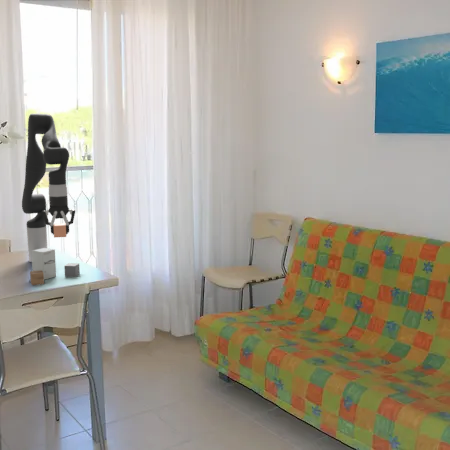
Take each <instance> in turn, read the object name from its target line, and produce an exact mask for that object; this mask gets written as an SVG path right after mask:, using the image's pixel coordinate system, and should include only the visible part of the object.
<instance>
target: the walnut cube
mask: <svg viewBox="0 0 450 450" xmlns="http://www.w3.org/2000/svg"><path fill="white" fill-rule="evenodd" d="M29 278H30V284H31V286H38V285H39V284H40V285H44V284H45V280H44V275H43V271H42V270H40V271H33V270H31V271H29Z"/></svg>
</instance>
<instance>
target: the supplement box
mask: <svg viewBox="0 0 450 450" xmlns="http://www.w3.org/2000/svg"><path fill="white" fill-rule="evenodd" d="M31 265H32V266H31V268H32V269H31V271H40V270H42V271H43V275H44V281H45V280H48V279H52V278H56V277H57V271H56V270H57V268H56V267H57V263H56V249H54V248H48V247H47V248H42V249H37V250H33V251H32V262H31Z"/></svg>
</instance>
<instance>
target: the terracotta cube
mask: <svg viewBox="0 0 450 450" xmlns="http://www.w3.org/2000/svg"><path fill="white" fill-rule="evenodd" d="M53 227H54V235H53V238H67V235H68V234H66V223H54V226H53Z"/></svg>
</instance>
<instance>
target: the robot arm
mask: <svg viewBox="0 0 450 450" xmlns="http://www.w3.org/2000/svg"><path fill="white" fill-rule="evenodd" d="M56 130H57V129H56V124H55V121H54V118H53V116H52V115H50V114H47V113H30V115H28V121H27V150H26V158H25V171H24V172H25V174H24V175H25V178H24V187H23V191H22V192H23V193H22V200H21V208H22V209H21V210H22V211H23V213H24V214H28V215H30V214H36V215H35V217H33V218H31V219H29V220H27V221H26V235H27V237H26V238H27V253H28V255H27V256H28V262H30V263H32V251H33V250H37V249H42V248H48V236H47V235H48V234H47V226H50V233H51V234H52V236H54V227H53V226H54V224H55V220H57V219H63V220H64V224H66V234H67V235H68V234H69V233H70V225H72V224H74V219H75V216H76V209H71V208H69V202H68V187H67V168H68V162H69V160H70V159H69V158H70V152H69V150H68V149H67V148H66V147H61V143H60V141H59V139H58V137H57V131H56ZM36 135H42V137H41V144H42V147H43V149H44V150H42V149H41V147H40V146H39V143H38V141H37V139H36V138H37V137H36ZM47 165H59V167H58V168H55V169H52V170H50V171H48V201H49V202H48V203H49V208H48V209H47V200H46V197H45V195H44V194H42V193H36V194H33V193H34V190H35V188H36V186H38V184H39V183H40V182H41V180H43V178H44V177H45V174H46V170H47ZM49 214H50V215H51V216H52V218H51V220H50V221H49V218H48V215H49ZM68 214H70V215H71V216H70V220H69V219H68V217H67V215H68Z"/></svg>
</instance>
